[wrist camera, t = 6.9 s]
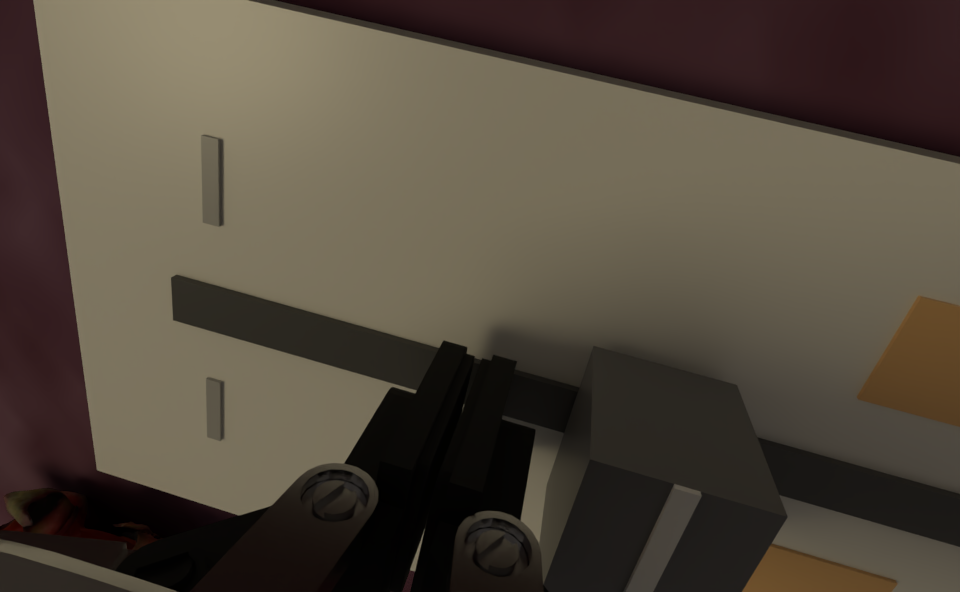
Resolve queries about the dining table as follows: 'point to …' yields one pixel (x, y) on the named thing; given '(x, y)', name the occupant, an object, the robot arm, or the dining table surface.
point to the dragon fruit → (64, 517)
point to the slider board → (493, 264)
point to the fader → (656, 485)
